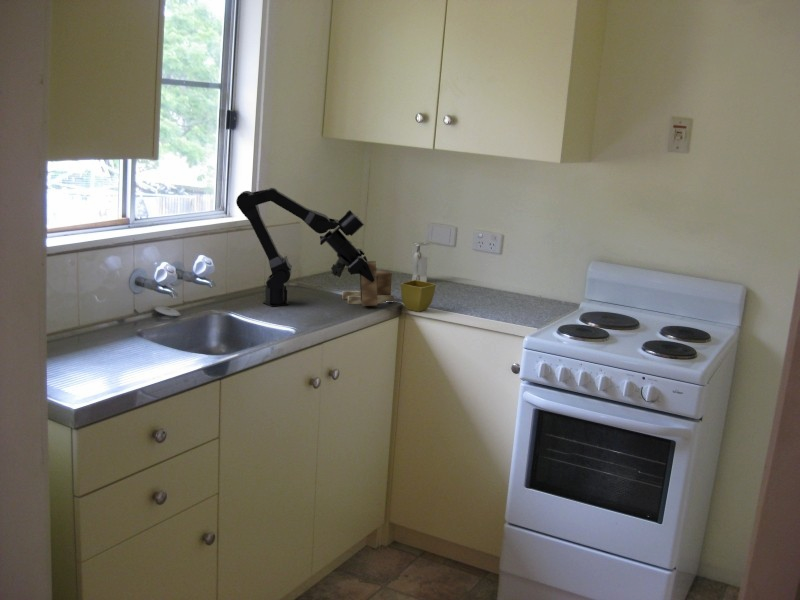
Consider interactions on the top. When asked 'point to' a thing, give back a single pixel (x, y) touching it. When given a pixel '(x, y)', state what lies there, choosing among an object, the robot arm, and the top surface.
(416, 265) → the soap dispenser bottle
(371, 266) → the finger block
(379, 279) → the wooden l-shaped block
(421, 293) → the flower pot
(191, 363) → the top surface
